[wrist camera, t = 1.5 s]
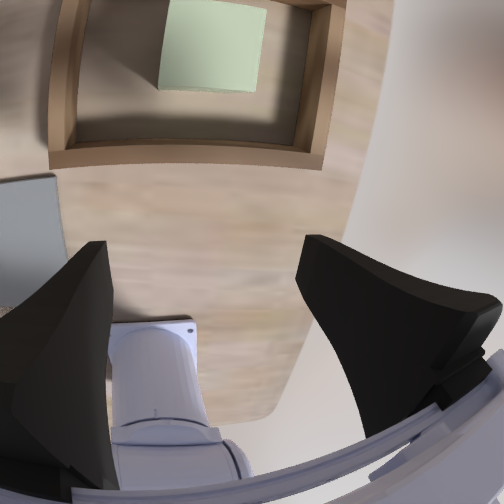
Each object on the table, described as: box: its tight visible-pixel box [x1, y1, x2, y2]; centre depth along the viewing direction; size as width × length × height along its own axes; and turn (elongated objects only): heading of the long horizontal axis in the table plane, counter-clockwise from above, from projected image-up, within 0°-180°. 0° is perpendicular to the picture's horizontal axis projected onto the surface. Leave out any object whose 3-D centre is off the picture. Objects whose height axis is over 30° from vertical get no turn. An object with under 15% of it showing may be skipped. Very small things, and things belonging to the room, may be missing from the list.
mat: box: [0, 176, 68, 307], centre depth 16 cm, size 10×8×1 cm
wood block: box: [158, 0, 267, 93], centre depth 12 cm, size 4×4×6 cm
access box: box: [48, 0, 347, 170], centre depth 13 cm, size 12×16×2 cm
